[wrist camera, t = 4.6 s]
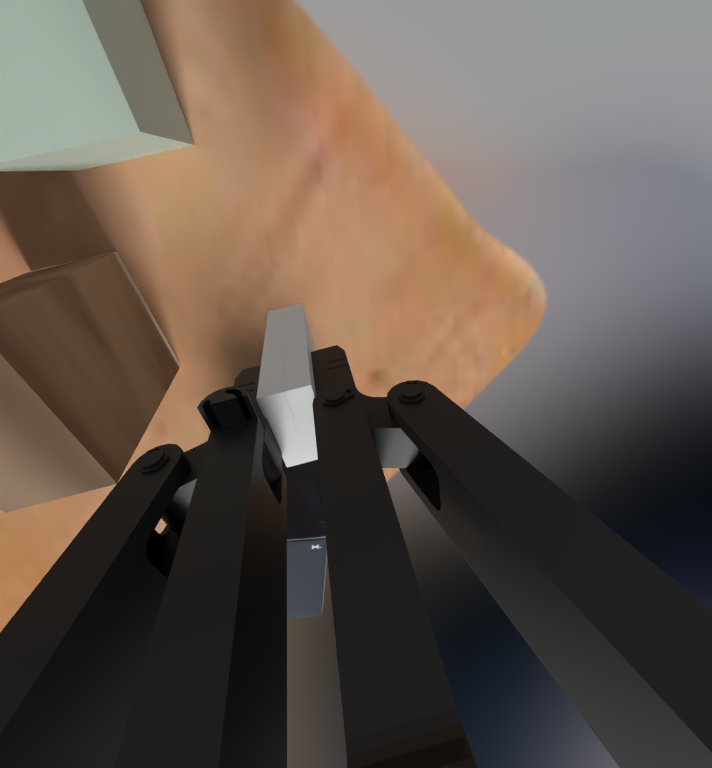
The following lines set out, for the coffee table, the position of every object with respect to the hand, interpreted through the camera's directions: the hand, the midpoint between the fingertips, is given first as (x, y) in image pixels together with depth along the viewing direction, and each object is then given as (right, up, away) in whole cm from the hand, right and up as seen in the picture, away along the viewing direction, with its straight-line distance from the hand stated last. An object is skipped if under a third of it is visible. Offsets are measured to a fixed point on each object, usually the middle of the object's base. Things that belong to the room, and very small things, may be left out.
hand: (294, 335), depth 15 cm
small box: (-4, -10, +17) cm, 20 cm away
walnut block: (-13, +2, +7) cm, 15 cm away
